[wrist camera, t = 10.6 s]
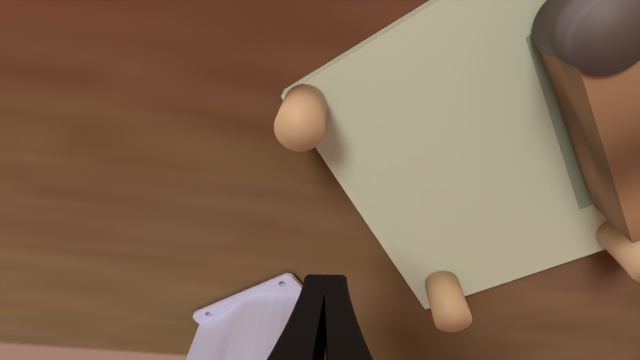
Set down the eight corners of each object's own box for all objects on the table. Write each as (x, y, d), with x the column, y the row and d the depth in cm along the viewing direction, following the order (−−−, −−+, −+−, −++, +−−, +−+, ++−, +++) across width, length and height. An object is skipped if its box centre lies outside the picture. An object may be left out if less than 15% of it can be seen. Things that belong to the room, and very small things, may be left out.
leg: (522, 12, 15) (563, 22, 12) (594, -31, 14) (654, -29, 11) (592, 208, 20) (632, 247, 17) (648, 185, 19) (700, 223, 16)
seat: (418, 297, 27) (430, 349, 23) (278, 90, 19) (264, 120, 15) (634, 222, 22) (690, 272, 19) (564, -86, 15) (636, -101, 11)
